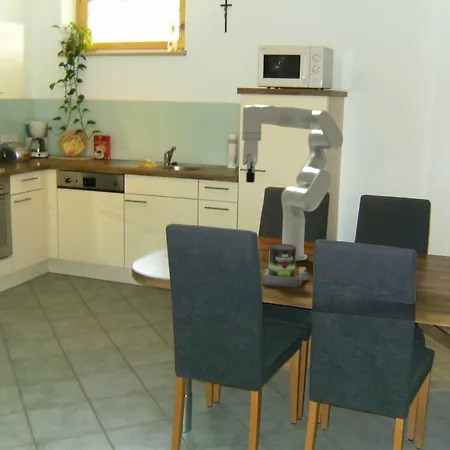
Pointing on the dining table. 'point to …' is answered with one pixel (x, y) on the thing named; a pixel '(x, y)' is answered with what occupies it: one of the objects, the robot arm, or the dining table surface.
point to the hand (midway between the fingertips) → (250, 182)
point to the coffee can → (282, 260)
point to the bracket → (283, 280)
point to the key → (302, 269)
